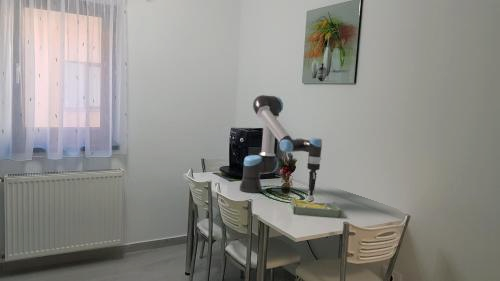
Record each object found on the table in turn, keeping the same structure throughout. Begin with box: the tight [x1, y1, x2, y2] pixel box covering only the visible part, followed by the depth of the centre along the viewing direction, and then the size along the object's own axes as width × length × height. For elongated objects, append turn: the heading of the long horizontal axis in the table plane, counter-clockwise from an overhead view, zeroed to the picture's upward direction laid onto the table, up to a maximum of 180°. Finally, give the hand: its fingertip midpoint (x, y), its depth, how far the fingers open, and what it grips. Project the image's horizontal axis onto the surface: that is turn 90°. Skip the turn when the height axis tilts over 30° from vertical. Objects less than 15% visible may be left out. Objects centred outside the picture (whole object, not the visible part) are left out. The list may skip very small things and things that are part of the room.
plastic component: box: [292, 195, 327, 209], centre depth 217 cm, size 20×7×10 cm
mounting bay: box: [290, 198, 342, 218], centre depth 215 cm, size 17×26×5 cm, turn 89°
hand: (310, 200), depth 233 cm, fingers closed
